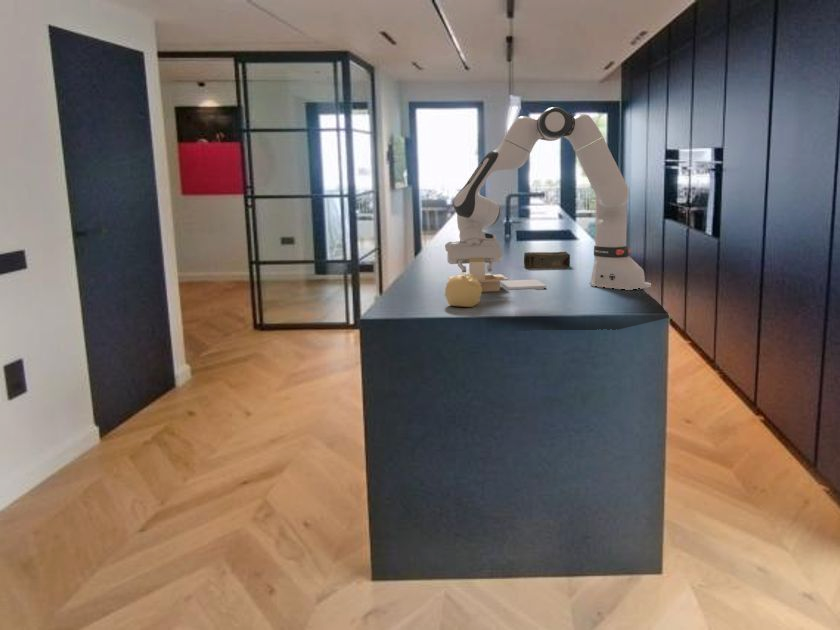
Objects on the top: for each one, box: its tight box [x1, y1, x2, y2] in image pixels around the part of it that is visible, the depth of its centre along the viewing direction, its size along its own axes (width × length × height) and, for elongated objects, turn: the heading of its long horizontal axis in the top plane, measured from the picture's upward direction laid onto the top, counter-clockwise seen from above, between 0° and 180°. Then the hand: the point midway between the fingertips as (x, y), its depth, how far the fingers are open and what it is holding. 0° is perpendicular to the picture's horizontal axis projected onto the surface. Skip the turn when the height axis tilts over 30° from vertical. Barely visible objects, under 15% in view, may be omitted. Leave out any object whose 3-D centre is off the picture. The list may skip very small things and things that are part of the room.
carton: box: [447, 272, 509, 293], centre depth 273 cm, size 17×20×4 cm
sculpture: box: [444, 272, 483, 308], centre depth 245 cm, size 11×12×11 cm
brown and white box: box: [468, 258, 486, 280], centre depth 273 cm, size 5×5×11 cm
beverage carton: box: [523, 251, 571, 270], centre depth 323 cm, size 8×19×7 cm, turn 89°
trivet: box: [500, 278, 547, 290], centre depth 279 cm, size 14×14×1 cm
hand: (477, 271), depth 272 cm, fingers open, 8 cm apart
